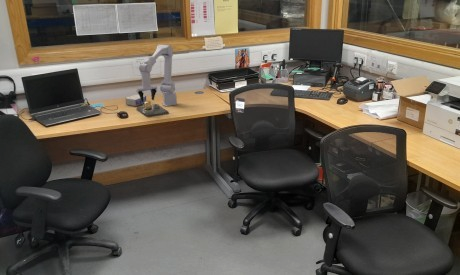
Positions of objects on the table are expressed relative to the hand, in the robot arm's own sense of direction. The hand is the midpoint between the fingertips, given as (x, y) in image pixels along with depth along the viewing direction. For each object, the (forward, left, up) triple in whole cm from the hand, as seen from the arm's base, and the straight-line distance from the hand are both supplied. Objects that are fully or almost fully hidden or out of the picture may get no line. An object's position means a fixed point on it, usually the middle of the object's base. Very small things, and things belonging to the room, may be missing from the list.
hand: (147, 100), depth 273 cm
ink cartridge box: (+4, -24, -7) cm, 25 cm away
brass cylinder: (0, 0, -8) cm, 8 cm away
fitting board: (-4, -3, -9) cm, 11 cm away
